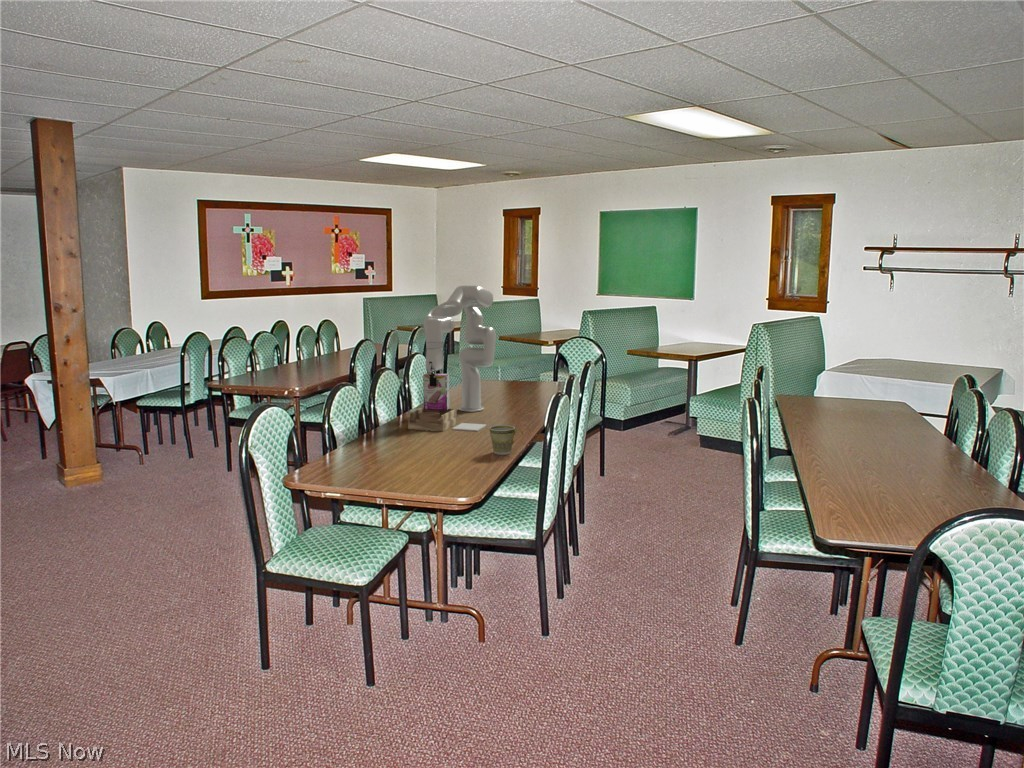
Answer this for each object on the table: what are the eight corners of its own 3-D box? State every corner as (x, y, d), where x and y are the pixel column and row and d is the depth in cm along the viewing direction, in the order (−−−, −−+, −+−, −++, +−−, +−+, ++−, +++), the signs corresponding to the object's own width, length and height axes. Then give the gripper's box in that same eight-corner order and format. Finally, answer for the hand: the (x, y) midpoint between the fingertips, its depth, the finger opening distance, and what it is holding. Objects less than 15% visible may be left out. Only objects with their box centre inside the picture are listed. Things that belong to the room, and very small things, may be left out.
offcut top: (418, 418, 338) (418, 412, 338) (438, 417, 341) (437, 411, 341) (420, 420, 334) (420, 414, 333) (440, 419, 336) (440, 413, 336)
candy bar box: (423, 410, 343) (422, 374, 340) (426, 408, 348) (425, 373, 345) (447, 410, 341) (446, 375, 338) (450, 408, 346) (449, 373, 343)
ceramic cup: (487, 455, 289) (487, 430, 287) (491, 449, 299) (491, 424, 297) (521, 456, 287) (521, 431, 285) (524, 450, 297) (524, 425, 295)
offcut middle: (419, 422, 341) (419, 417, 341) (442, 423, 340) (442, 417, 339) (416, 425, 336) (415, 419, 335) (440, 425, 334) (440, 420, 334)
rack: (423, 421, 352) (423, 407, 351) (457, 423, 347) (456, 408, 346) (408, 429, 336) (407, 413, 335) (442, 431, 331) (442, 415, 330)
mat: (461, 424, 346) (461, 422, 346) (486, 425, 342) (486, 424, 342) (452, 429, 335) (452, 428, 334) (477, 431, 331) (477, 430, 331)
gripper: (434, 343, 349) (435, 381, 352) (419, 347, 333) (420, 388, 336) (449, 343, 346) (450, 382, 350) (434, 348, 330) (436, 388, 334)
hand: (435, 384), depth 343 cm, fingers closed on candy bar box, 5 cm apart
